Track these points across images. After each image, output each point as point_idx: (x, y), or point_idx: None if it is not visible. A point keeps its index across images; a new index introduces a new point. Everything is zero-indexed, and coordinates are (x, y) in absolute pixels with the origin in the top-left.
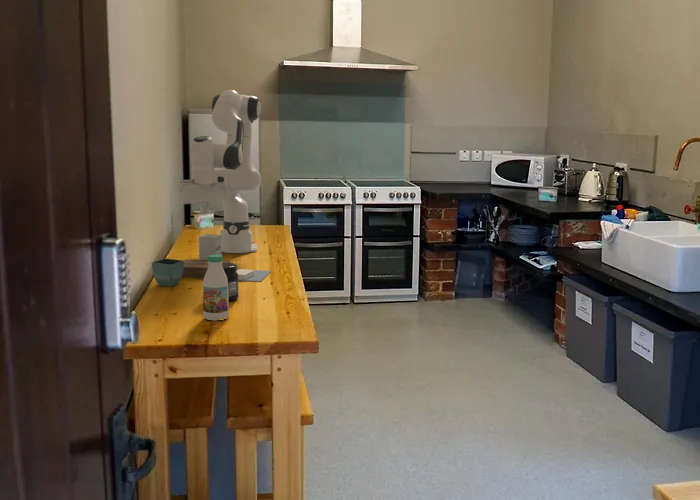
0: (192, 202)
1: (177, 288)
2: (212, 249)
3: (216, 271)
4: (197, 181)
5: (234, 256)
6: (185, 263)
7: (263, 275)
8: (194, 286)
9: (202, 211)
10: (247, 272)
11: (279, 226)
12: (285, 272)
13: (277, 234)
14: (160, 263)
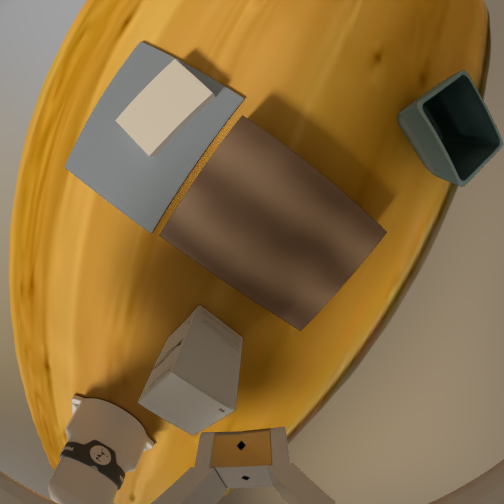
0: (478, 487)
1: (409, 79)
2: (194, 344)
3: None
4: None
5: (121, 387)
6: (333, 271)
7: (102, 109)
8: (361, 69)
9: (285, 443)
10: (149, 92)
11: None
12: (42, 143)
13: (53, 453)
14: (488, 111)
